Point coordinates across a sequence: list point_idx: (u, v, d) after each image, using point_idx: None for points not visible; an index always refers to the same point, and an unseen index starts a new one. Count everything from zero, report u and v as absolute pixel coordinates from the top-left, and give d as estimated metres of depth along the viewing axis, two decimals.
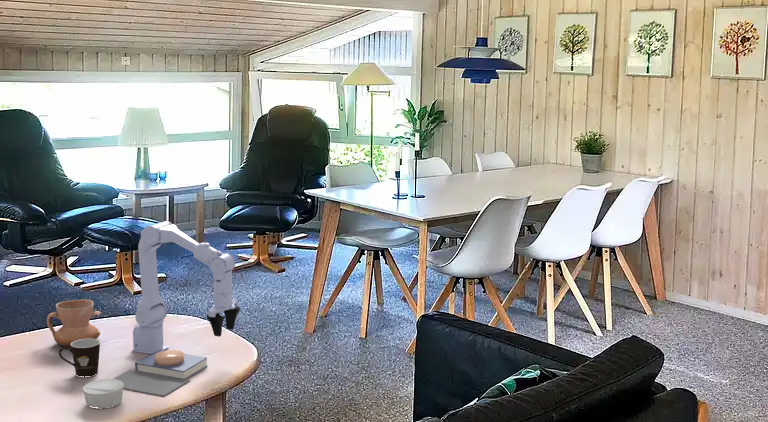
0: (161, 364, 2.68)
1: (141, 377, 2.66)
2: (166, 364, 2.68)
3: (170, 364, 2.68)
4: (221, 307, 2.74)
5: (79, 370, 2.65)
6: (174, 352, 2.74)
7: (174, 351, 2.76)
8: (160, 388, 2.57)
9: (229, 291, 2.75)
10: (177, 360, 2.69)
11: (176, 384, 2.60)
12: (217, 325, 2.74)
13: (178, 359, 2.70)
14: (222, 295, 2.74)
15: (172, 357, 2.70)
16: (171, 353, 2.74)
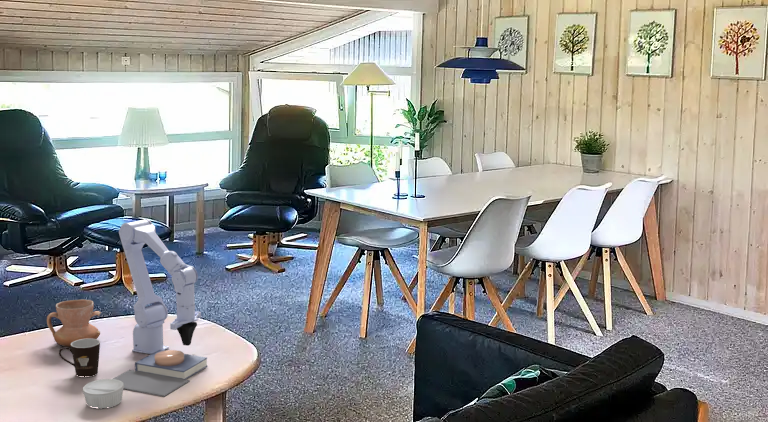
0: (161, 364, 2.68)
1: (141, 377, 2.66)
2: (166, 364, 2.68)
3: (170, 364, 2.68)
4: (183, 320, 2.76)
5: (79, 370, 2.65)
6: (174, 352, 2.74)
7: (174, 351, 2.76)
8: (160, 388, 2.57)
9: (189, 304, 2.76)
10: (177, 360, 2.69)
11: (176, 384, 2.60)
12: (185, 334, 2.79)
13: (178, 359, 2.70)
14: (184, 308, 2.76)
15: (172, 357, 2.70)
16: (171, 353, 2.74)
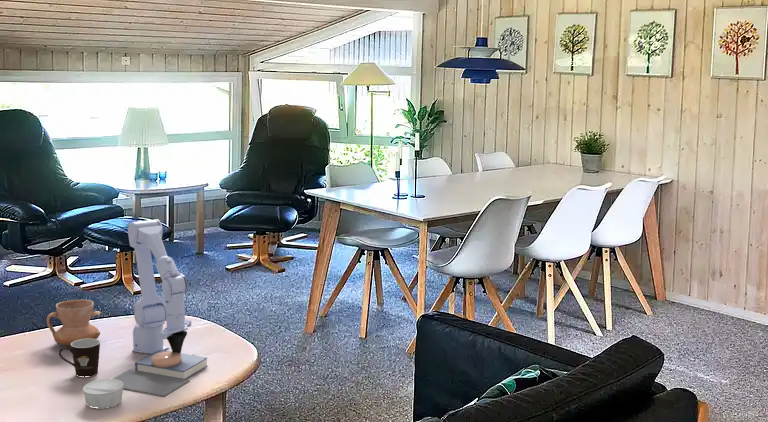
0: (158, 366, 2.67)
1: (141, 377, 2.66)
2: (163, 366, 2.67)
3: (167, 366, 2.67)
4: (173, 329, 2.71)
5: (79, 370, 2.65)
6: (171, 354, 2.73)
7: (172, 352, 2.74)
8: (160, 388, 2.57)
9: (177, 313, 2.71)
10: (174, 362, 2.68)
11: (176, 384, 2.60)
12: (175, 344, 2.74)
13: (175, 361, 2.68)
14: (174, 317, 2.71)
15: (169, 358, 2.69)
16: (168, 354, 2.72)
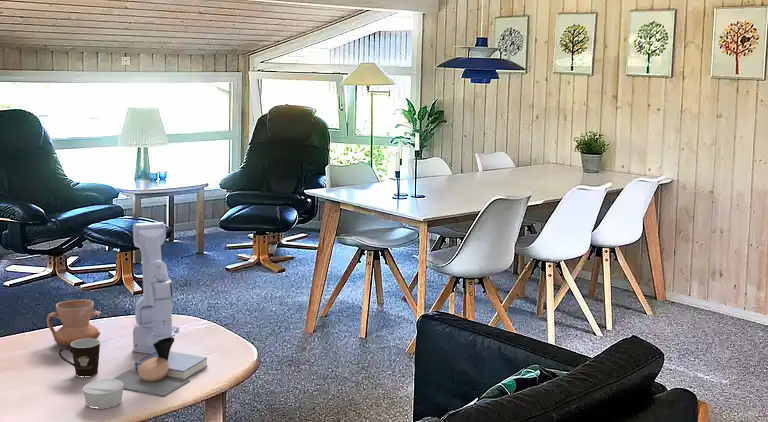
0: (146, 381, 2.62)
1: None
2: (151, 380, 2.61)
3: (155, 380, 2.62)
4: (160, 335, 2.65)
5: (79, 370, 2.65)
6: (157, 362, 2.66)
7: (158, 359, 2.67)
8: (160, 388, 2.57)
9: (161, 320, 2.64)
10: (161, 374, 2.62)
11: (176, 384, 2.60)
12: (162, 350, 2.68)
13: (162, 373, 2.62)
14: (160, 323, 2.64)
15: (155, 371, 2.63)
16: (154, 363, 2.66)
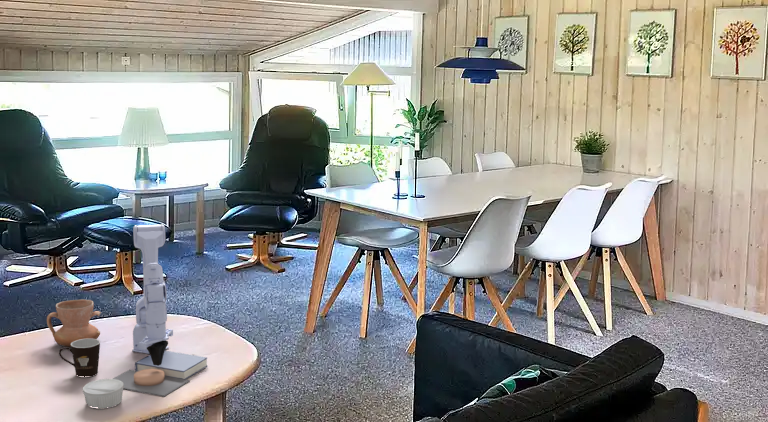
0: (140, 384, 2.59)
1: None
2: (145, 384, 2.59)
3: (149, 384, 2.59)
4: (153, 339, 2.62)
5: (79, 370, 2.65)
6: (154, 371, 2.65)
7: (155, 370, 2.66)
8: (160, 388, 2.57)
9: (154, 323, 2.61)
10: (157, 380, 2.60)
11: (176, 384, 2.60)
12: (156, 354, 2.65)
13: (158, 379, 2.60)
14: (154, 326, 2.61)
15: (151, 376, 2.61)
16: (151, 372, 2.65)
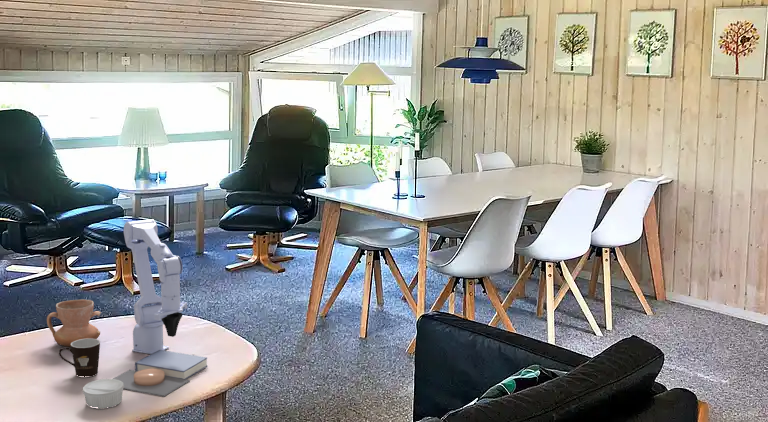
0: (140, 384, 2.59)
1: None
2: (145, 384, 2.59)
3: (149, 384, 2.59)
4: (168, 310, 2.71)
5: (79, 370, 2.65)
6: (154, 371, 2.65)
7: (155, 370, 2.66)
8: (160, 388, 2.57)
9: (171, 295, 2.70)
10: (156, 380, 2.60)
11: (176, 384, 2.60)
12: (170, 325, 2.74)
13: (158, 379, 2.60)
14: (169, 298, 2.70)
15: (151, 376, 2.61)
16: (151, 372, 2.65)
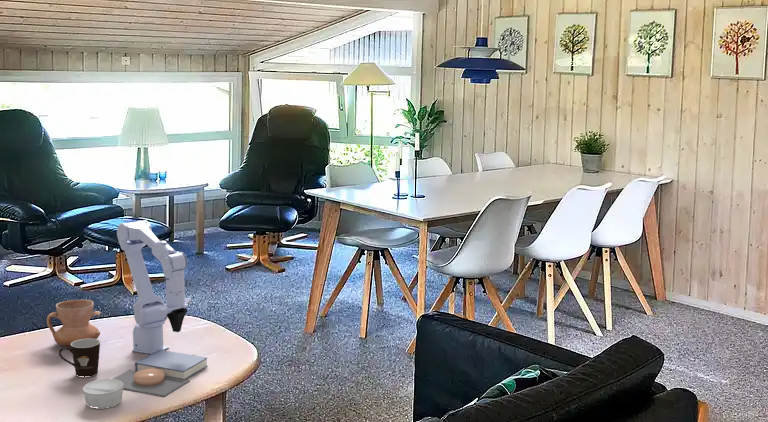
0: (140, 384, 2.59)
1: None
2: (145, 384, 2.59)
3: (149, 384, 2.59)
4: (173, 306, 2.74)
5: (79, 370, 2.65)
6: (154, 371, 2.65)
7: (155, 370, 2.66)
8: (160, 388, 2.57)
9: (178, 290, 2.73)
10: (156, 380, 2.60)
11: (176, 384, 2.60)
12: (175, 321, 2.77)
13: (158, 379, 2.60)
14: (174, 294, 2.73)
15: (151, 376, 2.61)
16: (151, 372, 2.65)
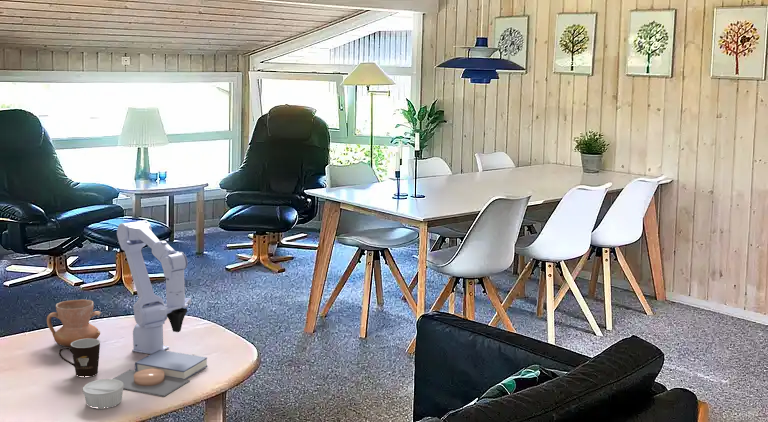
0: (140, 384, 2.59)
1: None
2: (145, 384, 2.59)
3: (149, 384, 2.59)
4: (173, 306, 2.74)
5: (79, 370, 2.65)
6: (154, 371, 2.65)
7: (155, 370, 2.66)
8: (160, 388, 2.57)
9: (178, 290, 2.73)
10: (156, 380, 2.60)
11: (176, 384, 2.60)
12: (175, 321, 2.77)
13: (157, 379, 2.60)
14: (174, 294, 2.73)
15: (151, 376, 2.61)
16: (151, 372, 2.65)
